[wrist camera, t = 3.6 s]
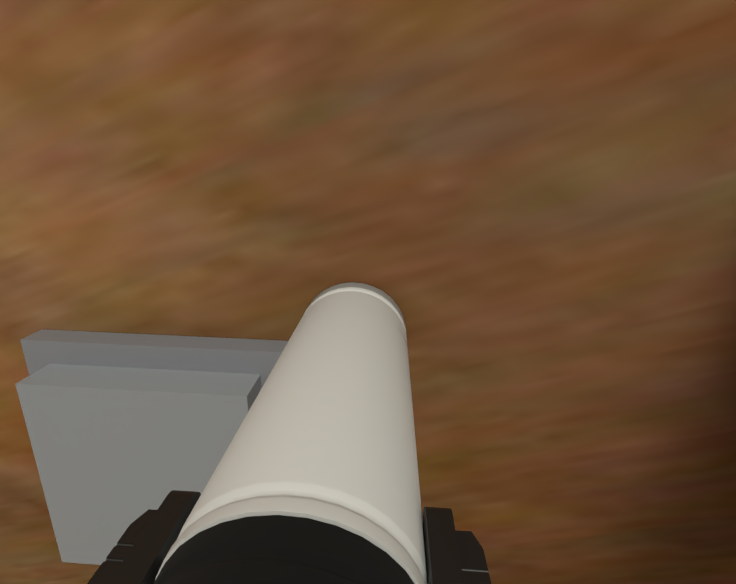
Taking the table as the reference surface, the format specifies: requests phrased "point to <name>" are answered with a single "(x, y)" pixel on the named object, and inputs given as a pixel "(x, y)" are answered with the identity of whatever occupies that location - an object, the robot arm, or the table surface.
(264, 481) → the travel mug
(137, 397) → the slate plinth
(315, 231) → the table surface
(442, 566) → the robot arm
